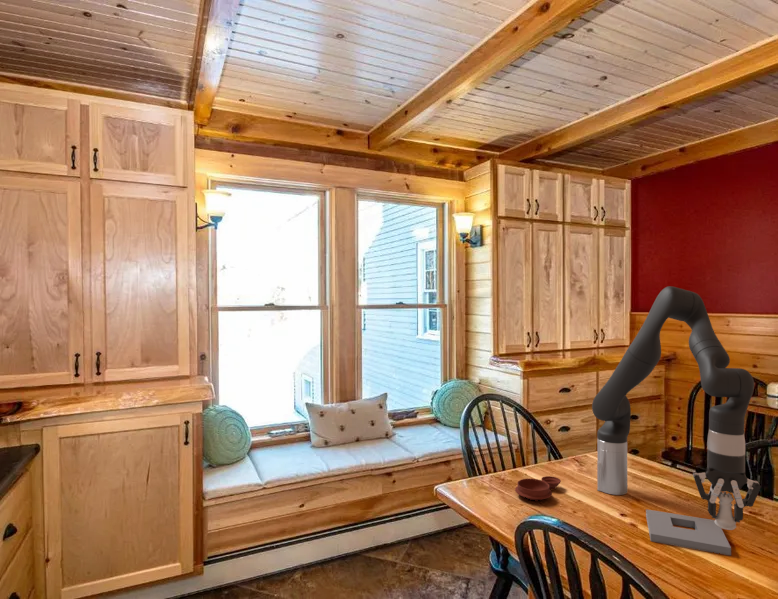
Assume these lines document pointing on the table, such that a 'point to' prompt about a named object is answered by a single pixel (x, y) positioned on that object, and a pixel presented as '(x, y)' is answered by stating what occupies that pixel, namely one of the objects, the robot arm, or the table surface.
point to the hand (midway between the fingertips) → (725, 518)
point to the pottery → (537, 487)
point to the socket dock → (687, 532)
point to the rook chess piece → (725, 512)
